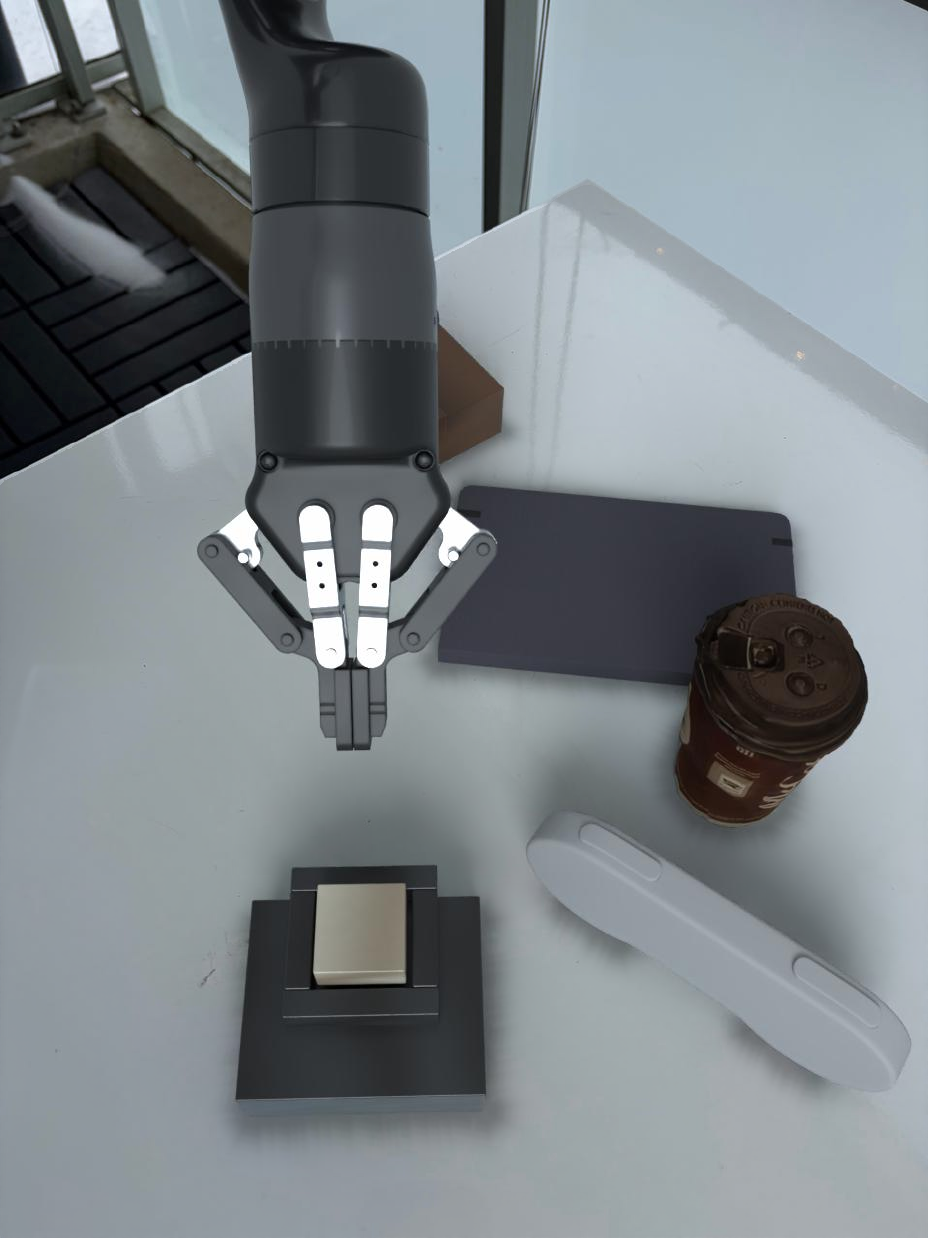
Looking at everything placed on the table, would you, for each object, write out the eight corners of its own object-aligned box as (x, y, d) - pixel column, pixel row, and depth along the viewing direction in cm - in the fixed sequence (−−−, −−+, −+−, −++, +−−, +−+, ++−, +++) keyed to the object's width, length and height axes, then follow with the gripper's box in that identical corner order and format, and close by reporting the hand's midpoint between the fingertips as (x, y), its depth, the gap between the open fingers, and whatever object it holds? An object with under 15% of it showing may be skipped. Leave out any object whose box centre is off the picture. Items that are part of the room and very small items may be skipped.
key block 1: (248, 1117, 51) (227, 1094, 46) (265, 908, 56) (247, 867, 51) (483, 1111, 51) (487, 1088, 46) (476, 904, 56) (480, 863, 51)
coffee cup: (618, 766, 61) (657, 644, 50) (713, 680, 64) (769, 548, 53) (739, 877, 58) (809, 771, 47) (833, 780, 61) (919, 661, 50)
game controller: (879, 1066, 52) (946, 1027, 46) (859, 1108, 51) (925, 1074, 44) (542, 844, 58) (555, 779, 51) (518, 878, 57) (529, 816, 50)
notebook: (437, 662, 65) (796, 697, 64) (437, 648, 63) (804, 684, 62) (459, 498, 72) (783, 528, 71) (460, 483, 70) (790, 513, 69)
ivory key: (317, 986, 49) (312, 973, 47) (321, 899, 51) (317, 884, 49) (406, 984, 49) (405, 971, 47) (406, 897, 51) (405, 882, 49)
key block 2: (358, 524, 70) (352, 462, 65) (272, 419, 75) (260, 354, 70) (512, 443, 74) (517, 379, 69) (420, 348, 79) (419, 282, 74)
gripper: (157, 331, 40) (184, 777, 43) (514, 330, 40) (512, 772, 44) (199, 341, 47) (219, 722, 51) (501, 340, 48) (500, 718, 51)
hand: (355, 745), depth 47 cm, fingers closed
